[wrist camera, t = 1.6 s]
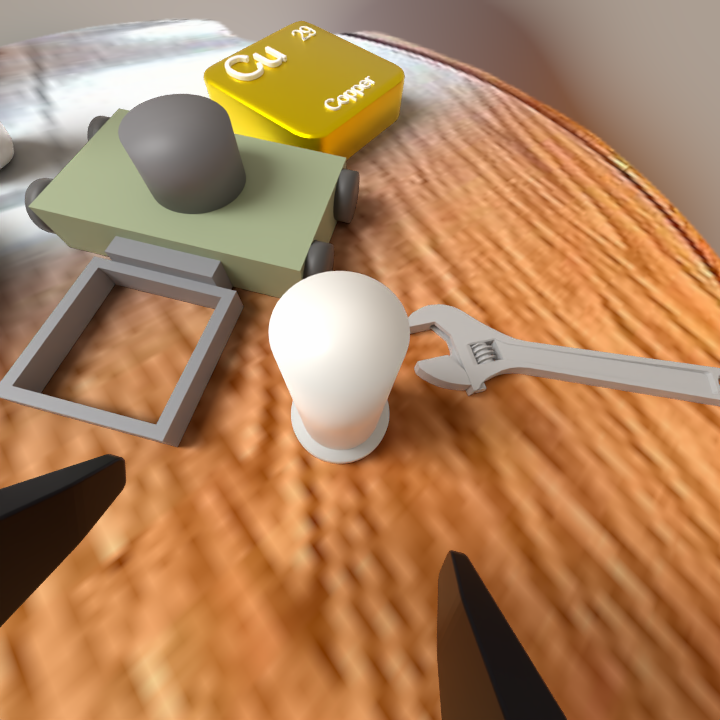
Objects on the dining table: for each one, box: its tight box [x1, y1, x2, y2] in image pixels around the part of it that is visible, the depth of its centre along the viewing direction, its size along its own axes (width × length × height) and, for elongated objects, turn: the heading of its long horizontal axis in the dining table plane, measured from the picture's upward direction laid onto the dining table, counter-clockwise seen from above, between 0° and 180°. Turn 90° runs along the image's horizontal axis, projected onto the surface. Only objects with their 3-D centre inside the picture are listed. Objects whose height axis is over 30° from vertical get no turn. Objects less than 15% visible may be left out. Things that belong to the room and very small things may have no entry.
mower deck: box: [0, 94, 359, 447], centre depth 23 cm, size 24×22×8 cm
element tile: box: [204, 21, 405, 160], centre depth 34 cm, size 15×15×5 cm
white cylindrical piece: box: [269, 271, 410, 464], centre depth 17 cm, size 6×6×12 cm
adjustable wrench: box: [408, 304, 720, 406], centre depth 25 cm, size 25×6×2 cm, turn 77°
